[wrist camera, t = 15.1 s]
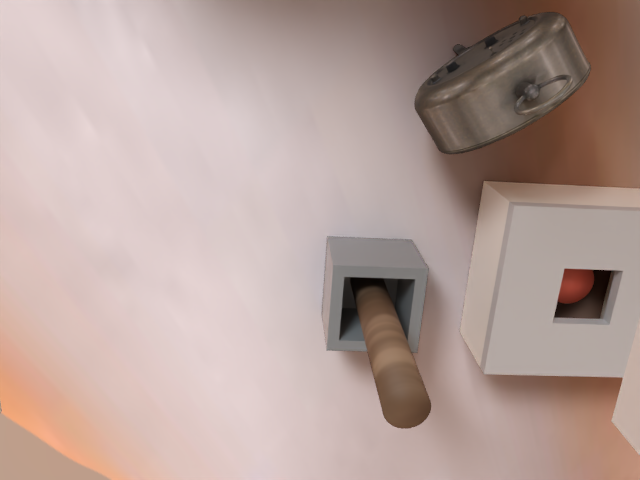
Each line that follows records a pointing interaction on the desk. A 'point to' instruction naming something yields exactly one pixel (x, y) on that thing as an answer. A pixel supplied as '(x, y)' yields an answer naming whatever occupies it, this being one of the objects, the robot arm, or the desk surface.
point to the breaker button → (575, 285)
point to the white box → (551, 279)
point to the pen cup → (371, 262)
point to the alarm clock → (502, 83)
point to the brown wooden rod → (390, 355)
